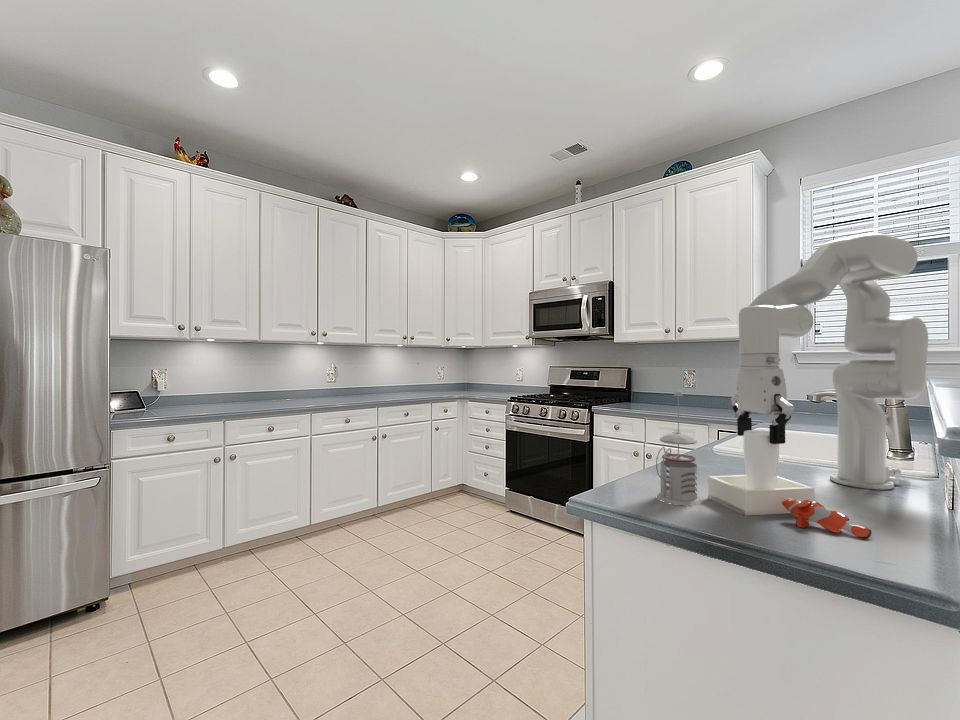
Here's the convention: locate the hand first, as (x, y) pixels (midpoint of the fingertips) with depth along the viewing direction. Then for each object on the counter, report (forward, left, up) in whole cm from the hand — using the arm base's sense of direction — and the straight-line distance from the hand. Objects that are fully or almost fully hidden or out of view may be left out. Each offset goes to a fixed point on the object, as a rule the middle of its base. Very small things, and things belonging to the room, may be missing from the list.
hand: (760, 439), depth 101 cm
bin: (+1, 0, -14) cm, 14 cm away
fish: (-1, +14, -15) cm, 21 cm away
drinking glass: (0, +1, -14) cm, 14 cm away
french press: (+17, -6, -15) cm, 23 cm away
